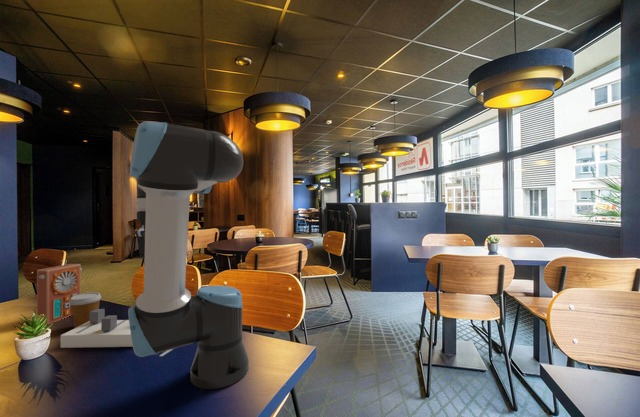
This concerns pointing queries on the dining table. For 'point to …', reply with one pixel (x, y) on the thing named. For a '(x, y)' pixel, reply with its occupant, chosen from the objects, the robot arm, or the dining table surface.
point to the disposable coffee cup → (84, 307)
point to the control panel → (57, 290)
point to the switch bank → (98, 336)
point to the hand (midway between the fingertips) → (149, 276)
